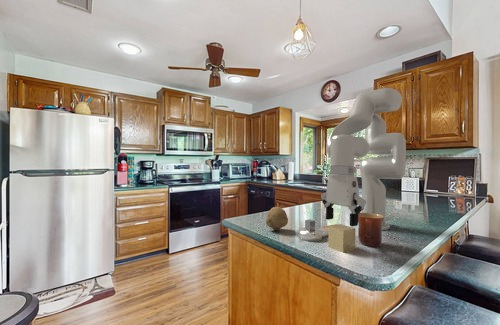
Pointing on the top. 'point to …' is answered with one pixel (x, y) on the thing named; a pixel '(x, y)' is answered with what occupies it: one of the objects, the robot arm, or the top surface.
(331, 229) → the beige wooden block
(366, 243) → the mug
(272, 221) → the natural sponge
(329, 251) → the top surface
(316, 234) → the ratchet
